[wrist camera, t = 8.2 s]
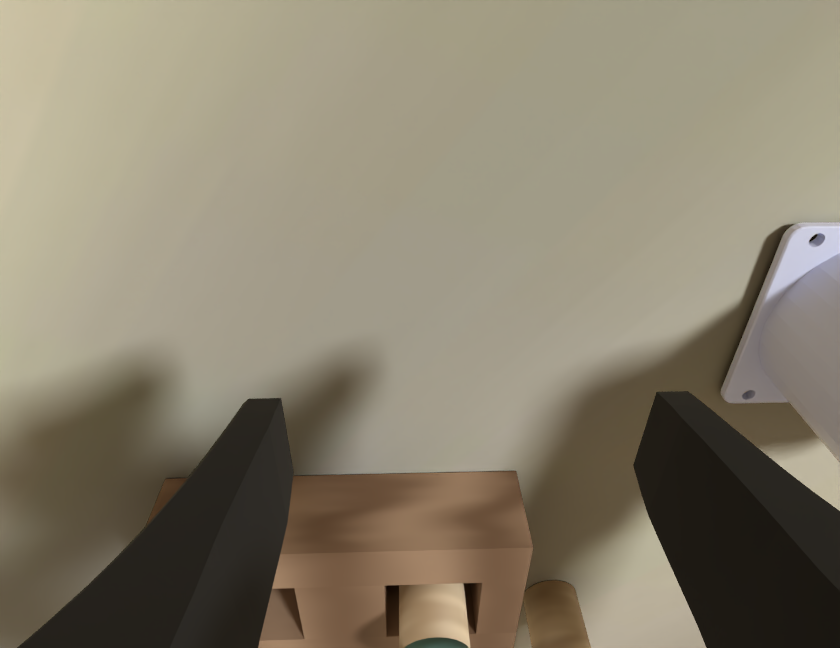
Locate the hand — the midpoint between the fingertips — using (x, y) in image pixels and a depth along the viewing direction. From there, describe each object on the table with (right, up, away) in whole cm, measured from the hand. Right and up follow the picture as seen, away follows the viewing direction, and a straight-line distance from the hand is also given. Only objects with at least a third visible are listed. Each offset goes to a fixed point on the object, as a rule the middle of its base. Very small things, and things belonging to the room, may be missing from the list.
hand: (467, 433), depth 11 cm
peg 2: (+6, -13, +21) cm, 26 cm away
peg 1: (-1, -8, +18) cm, 20 cm away
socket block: (-5, -9, +18) cm, 20 cm away
